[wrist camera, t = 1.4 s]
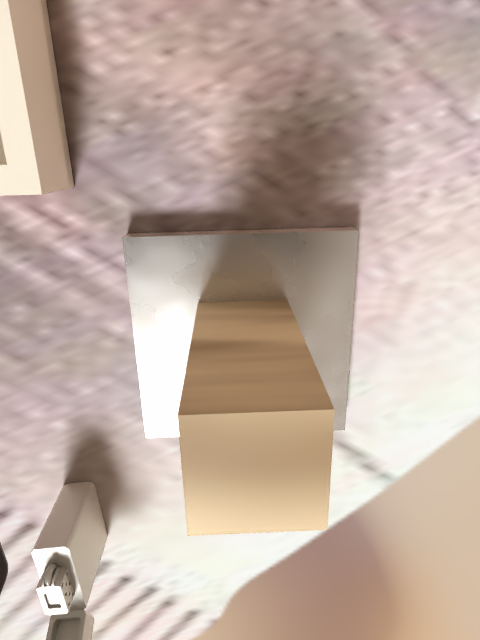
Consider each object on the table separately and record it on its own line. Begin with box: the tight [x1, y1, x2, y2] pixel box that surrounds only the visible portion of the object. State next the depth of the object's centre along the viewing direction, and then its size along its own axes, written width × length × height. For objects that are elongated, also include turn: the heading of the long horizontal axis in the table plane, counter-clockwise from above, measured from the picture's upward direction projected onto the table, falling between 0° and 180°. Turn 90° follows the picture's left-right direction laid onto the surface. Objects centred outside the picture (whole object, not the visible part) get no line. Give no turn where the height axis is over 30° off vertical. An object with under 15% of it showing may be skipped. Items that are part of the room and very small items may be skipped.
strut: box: [177, 300, 335, 536], centre depth 16 cm, size 4×4×9 cm
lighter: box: [31, 481, 108, 640], centre depth 22 cm, size 7×2×8 cm, turn 5°
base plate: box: [122, 227, 359, 438], centre depth 21 cm, size 10×10×1 cm
